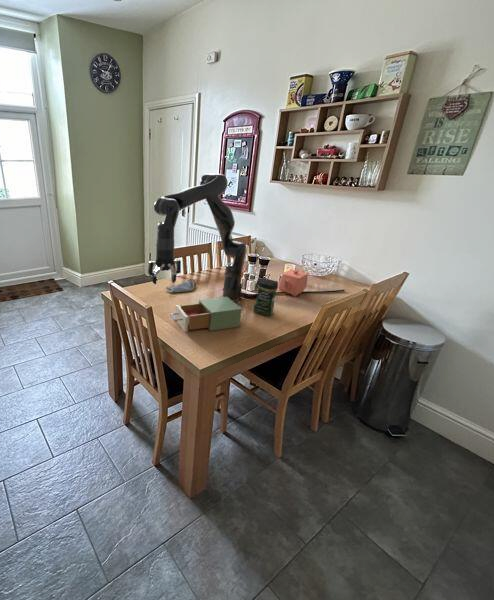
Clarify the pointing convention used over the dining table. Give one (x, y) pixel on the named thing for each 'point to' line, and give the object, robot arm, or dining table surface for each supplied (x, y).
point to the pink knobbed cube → (293, 282)
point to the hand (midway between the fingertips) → (164, 282)
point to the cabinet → (222, 313)
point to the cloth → (182, 287)
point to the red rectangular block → (190, 314)
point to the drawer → (192, 316)
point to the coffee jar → (265, 296)
